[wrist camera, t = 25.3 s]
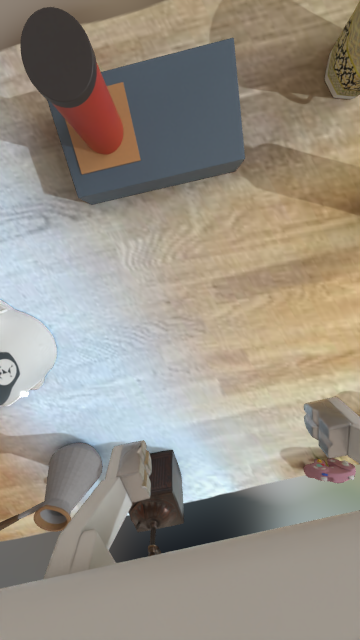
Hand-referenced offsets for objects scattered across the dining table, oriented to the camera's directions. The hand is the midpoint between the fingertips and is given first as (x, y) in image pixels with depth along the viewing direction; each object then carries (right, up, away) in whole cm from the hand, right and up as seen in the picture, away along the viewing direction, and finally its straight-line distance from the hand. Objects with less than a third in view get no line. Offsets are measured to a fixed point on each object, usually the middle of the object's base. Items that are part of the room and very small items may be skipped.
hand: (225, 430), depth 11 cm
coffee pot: (-30, -27, +40) cm, 57 cm away
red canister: (-12, +29, +16) cm, 36 cm away
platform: (-6, +32, +21) cm, 38 cm away
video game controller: (+33, -29, +42) cm, 61 cm away
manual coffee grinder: (-7, -33, +43) cm, 55 cm away
